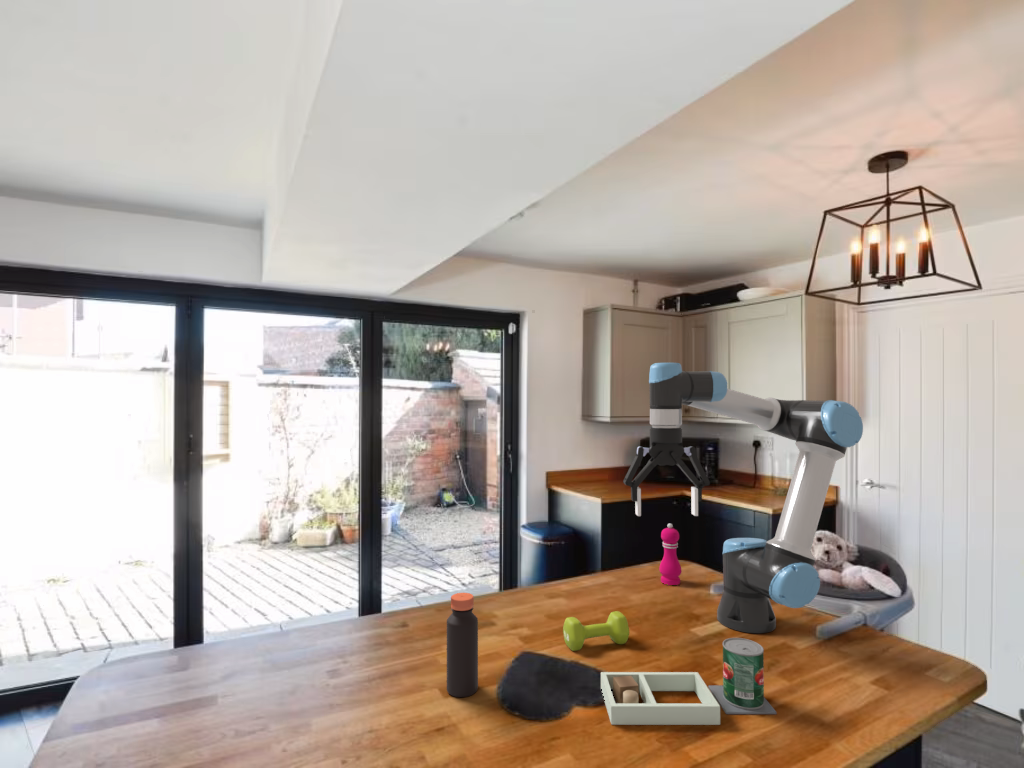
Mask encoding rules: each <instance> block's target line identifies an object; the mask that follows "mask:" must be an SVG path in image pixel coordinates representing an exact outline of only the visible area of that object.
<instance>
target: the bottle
mask: <svg viewBox="0 0 1024 768" xmlns="http://www.w3.org/2000/svg"><path fill="white" fill-rule="evenodd" d="M474 599H475V598H474V595H473V594H472V593H470V592H457V593H454V594H453V595H451V597H450V607H451V608H450V609H451V610H450V611H452V613H451V614H450V615H449V617H447V619H446V691H447V693H448V694H449V695H451V696H452V697H455V698H467V697H470V696H472V695H474V694H475V693H476V692H477V691H478V687H479V620H478V617H477V615H475V613H474V612H473V610H474V607H475V606H474V603H475V602H474Z"/></svg>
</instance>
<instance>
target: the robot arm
mask: <svg viewBox="0 0 1024 768" xmlns="http://www.w3.org/2000/svg"><path fill="white" fill-rule="evenodd" d="M649 367H650V368H649V378H648V384H649V390H648V391H649V424H650V425H651V427H650V428H649V446H648V447H643V446H640V445H637V447H636V448H635V449H636V451H635V456H634V458H633V459H632V462H631V465H630V467H629V468H628V471H627V473H626V474H625V476H624V479H623V480H622V481H623V482H622V483H623V484H624V485H625V486H628V487H630V499H631V501H632V502H635V504H634V505H635V506H634V508H635V510H634V511H635V513H634V514H635V515H636V516H637V517H641V516H642V488H641V487H639V486H640V485H641V483H642V482H643V481H644V480H645V479H646V478H647V476H649V474H650V472H652V470H653V469H655V467H656V466H657V465H659V466H662V467H663V466H671V467H672V466H675V465H676V466H677V467H678V468H679V469H680V470H681V471H682V473H683V474H684V475H685V476H686V477H687V478H688V480H689V481H690V482H691V483H692V484H693V485H694V486H691V487H690V490H691V491H690V495H691V496H690V497H691V499H690V501H691V503H690V504H691V507H690V509H691V510H690V511H691V512H690V513H691V515H693V516H694V517H699V502H702V501H703V488H704V487H706V486H710V484H711V482H710V480H709V477H708V476H707V473H706V471H705V470H704V468H703V466H702V464H701V462H700V460H699V458H698V455H697V448H696V447H695V446H691V445H690V446H687V447H686V446H685V447H684V446H683V429H682V427H681V426H682V425H683V415H682V414H683V411H682V408H683V406H689V407H692V408H696V409H698V410H702V411H706V412H709V413H713V414H717V415H721V416H724V417H728V418H730V419H735V420H739V421H742V422H745V423H748V424H752V425H756V426H757V427H758V429H759V430H761V431H765V432H768V433H771V434H774V435H778V436H779V437H783V438H785V439H789V440H791V441H794V442H795V445H796V447H797V449H798V451H799V453H798V456H797V459H796V464H795V466H794V470H793V473H792V476H791V479H790V484H789V487H788V491H787V494H786V497H785V500H784V504H783V507H782V511H781V513H780V517H779V521H778V524H777V528H776V531H775V536H774V537H773V538H771V539H768V540H766V539H763V538H759V537H758V538H756V537H732V538H729V539H726V540H725V541H724V542H723V546H722V567H723V568H722V571H723V572H722V574H723V575H722V577H723V579H722V580H723V591H722V595H721V597H720V601H719V604H718V607H717V610H716V619H717V621H718V622H719V623H720V624H721V625H723V626H725V627H726V628H729V629H731V630H735V631H739V632H742V633H750V634H765V633H766V634H767V633H770V632H773V631H775V629H776V628H777V619H776V614H775V612H774V608H773V606H772V602H771V600H772V601H773V602H775V603H776V604H779V605H781V606H784V607H787V608H791V609H799V608H803V607H805V606H806V605H809V604H810V603H812V602H813V600H815V598H816V596H817V595H818V593H819V591H820V587H821V578H820V577H819V572H818V571H817V569H816V568H815V567H814V565H815V562H816V557H815V556H814V554H813V553H812V546H813V544H814V541H815V540H814V539H815V536H816V534H817V533H816V532H817V530H818V525H819V522H820V519H821V515H822V511H823V508H824V504H825V500H826V499H827V494H828V491H829V487H830V483H831V480H832V476H833V473H834V469H835V466H836V462H837V461H839V460H840V459H843V458H845V456H846V452H847V449H848V448H851V447H854V446H855V445H856V444H858V443H859V442H860V441H861V439H862V437H863V432H864V424H863V419H862V417H861V415H860V413H859V411H858V409H856V408H855V406H853V405H852V404H850V403H848V402H846V401H841V400H840V401H839V400H833V399H828V400H812V399H811V400H808V399H807V400H804V399H802V400H801V399H797V400H794V399H792V400H791V399H790V400H789V399H788V400H787V399H786V400H785V399H777V398H774V397H767V398H762V397H758V396H754V395H751V394H748V393H745V392H741V391H737V390H734V389H731V388H728V380H727V378H726V376H725V375H724V374H723V373H722V372H720V371H712V370H709V371H708V370H707V371H706V370H704V371H699V370H698V371H685V370H683V368H682V364H681V363H679V362H655V363H653V364H651V365H650V366H649ZM684 453H685V455H686V456H688V458H689V460H690V462H691V464H692V466H693V468H694V470H695V471H696V474H697V476H698V477H696V475H695V473H693V472H692V471H691V470H690V468H689V467H688V465H686V463H685V462H684V460H682V457H683V455H684ZM647 454H648V455H649V456H650V459H649V460H648V461H647V463H646V465H644V466H643V468H642V469H641V470H640V471H639V472H638V474H637V475H636V473H637V470H638V469H639V467H640V465H641V463H642V461H643V457H645V456H646V455H647ZM635 475H636V476H635ZM698 478H699V479H698Z"/></svg>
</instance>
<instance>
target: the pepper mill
mask: <svg viewBox="0 0 1024 768" xmlns="http://www.w3.org/2000/svg"><path fill="white" fill-rule="evenodd" d="M666 526H667V527H665V528H663V529H662V530H661V532H660V538H661V540H662V547H663V557H662V560H661V561H660V562H659V563H660V564H659V566H658V570H659V573H660V574H661V576H660V583H661V582H662V583H664V584H663V585H665V584H668V585H667V586H669V585H677V586H679V585H680V584H681V578H680V576H681V575H682V566H681V564H680V561H679V558H678V556H677V548H679V546H678V545H679V543H678V542H679V540H680V533H679V531H678V529H676V528H674V526H673V523H667V525H666ZM662 583H661V584H662ZM678 584H679V585H678Z"/></svg>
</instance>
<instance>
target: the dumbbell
mask: <svg viewBox="0 0 1024 768" xmlns="http://www.w3.org/2000/svg"><path fill="white" fill-rule="evenodd" d="M562 633H563V639H564V642H565V644H566V646H567V648H568V649H570V650H571V651H573V652H577V651H581V650H582V648H583V646H584V644H585V640H587V639H593V638H599V637H606V636H609V638H610V639H611V641H613V642H614V643H615V644H617V645H625V644H626V643H627V641H628V639H629V637H630V628H629V623H628V619H627V617H626V616H625V615H624V614H623V613H622V612H620V611H619V610H616V611H612V612H610V614H609V615H608V618H607V620H606V622H605V623H603V622H602V623H594V624H589V625H587V624H586V625H583V624H582V622H581V621H580V620H579V619H578V618H577V617H574V616H568V617H566V618H565V620H564V622H563V627H562Z"/></svg>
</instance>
